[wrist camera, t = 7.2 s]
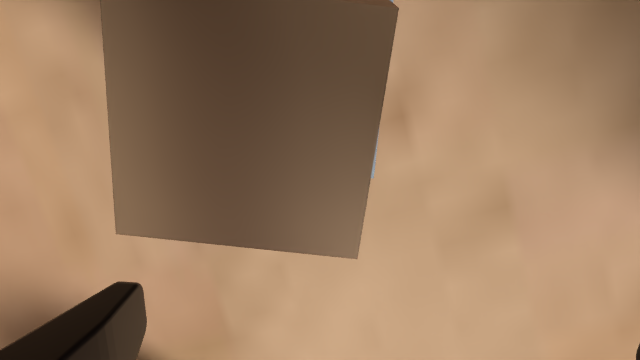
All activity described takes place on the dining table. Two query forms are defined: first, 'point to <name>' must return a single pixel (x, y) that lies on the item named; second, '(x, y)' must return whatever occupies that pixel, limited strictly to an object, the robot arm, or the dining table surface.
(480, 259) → the dining table surface
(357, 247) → the walnut cube
